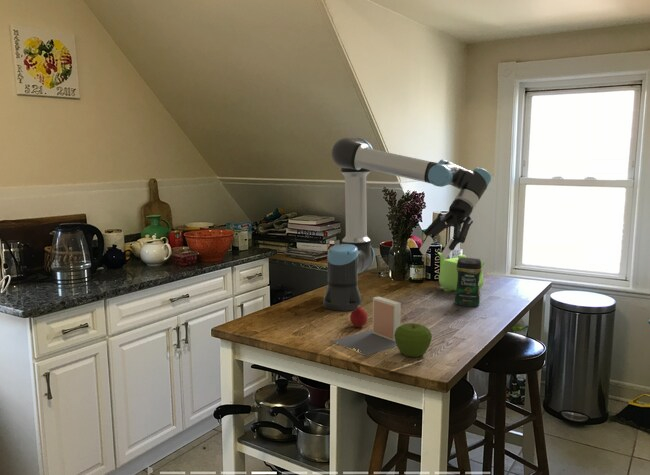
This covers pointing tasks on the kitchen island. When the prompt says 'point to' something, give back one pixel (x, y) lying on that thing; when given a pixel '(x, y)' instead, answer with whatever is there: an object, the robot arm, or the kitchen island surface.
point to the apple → (413, 339)
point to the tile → (386, 317)
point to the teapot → (452, 273)
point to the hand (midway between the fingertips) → (432, 254)
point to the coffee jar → (468, 282)
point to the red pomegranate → (358, 317)
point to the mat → (366, 342)
